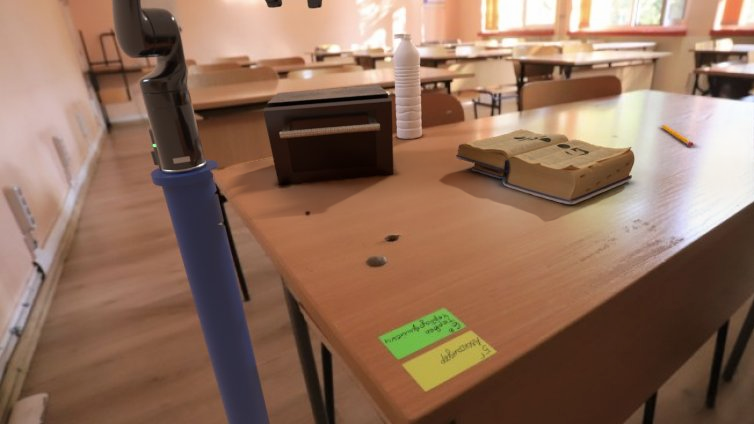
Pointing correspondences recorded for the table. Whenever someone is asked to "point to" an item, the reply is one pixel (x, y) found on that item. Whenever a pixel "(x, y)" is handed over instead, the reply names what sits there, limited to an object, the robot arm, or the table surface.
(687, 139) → the pencil
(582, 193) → the book
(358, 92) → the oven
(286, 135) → the oven door
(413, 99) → the water bottle
